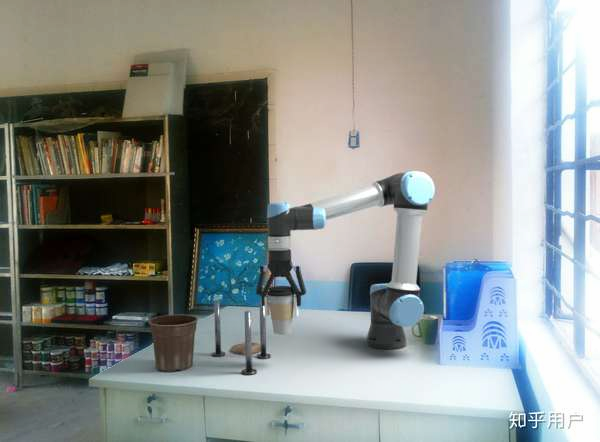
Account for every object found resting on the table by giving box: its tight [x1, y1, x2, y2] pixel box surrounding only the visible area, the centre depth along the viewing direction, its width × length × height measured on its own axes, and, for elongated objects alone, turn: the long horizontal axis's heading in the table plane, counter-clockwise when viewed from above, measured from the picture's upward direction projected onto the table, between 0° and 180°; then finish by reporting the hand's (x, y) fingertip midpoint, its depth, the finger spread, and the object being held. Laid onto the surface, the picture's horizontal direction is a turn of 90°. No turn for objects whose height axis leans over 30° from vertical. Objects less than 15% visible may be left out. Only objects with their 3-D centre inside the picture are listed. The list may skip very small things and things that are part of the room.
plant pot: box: [148, 314, 199, 373], centre depth 179 cm, size 16×16×16 cm
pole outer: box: [240, 310, 258, 376], centre depth 171 cm, size 5×5×20 cm
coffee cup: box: [266, 285, 295, 336], centre depth 177 cm, size 9×9×15 cm
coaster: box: [230, 342, 261, 356], centre depth 197 cm, size 12×12×1 cm
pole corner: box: [256, 300, 272, 360], centre depth 188 cm, size 5×5×20 cm
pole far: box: [210, 299, 226, 358], centre depth 191 cm, size 5×5×20 cm
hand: (281, 315), depth 177 cm, fingers closed on coffee cup, 9 cm apart
